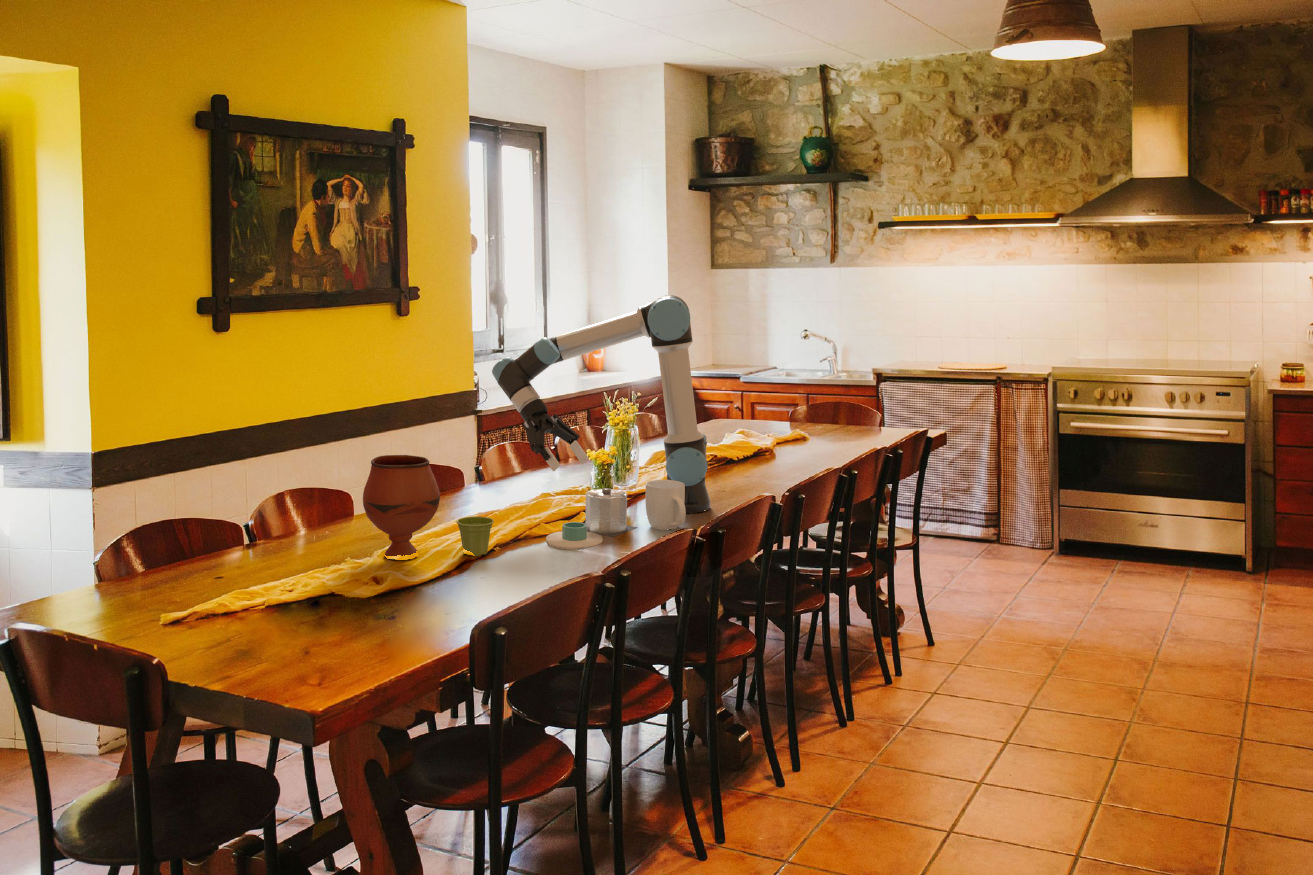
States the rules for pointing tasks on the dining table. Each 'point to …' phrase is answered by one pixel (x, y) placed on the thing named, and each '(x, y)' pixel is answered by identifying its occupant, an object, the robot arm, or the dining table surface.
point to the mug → (665, 504)
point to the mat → (618, 533)
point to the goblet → (400, 498)
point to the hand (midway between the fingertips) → (571, 464)
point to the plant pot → (475, 534)
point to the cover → (606, 511)
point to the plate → (573, 537)
